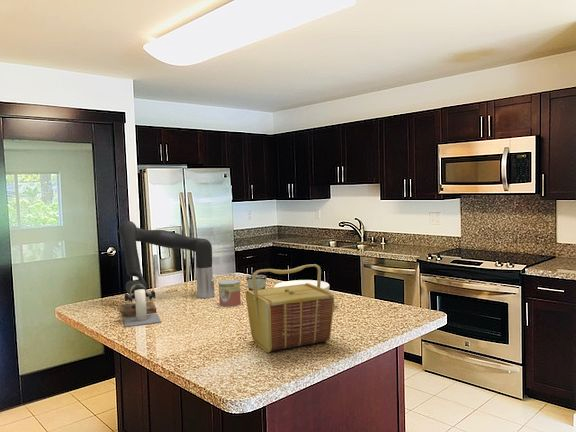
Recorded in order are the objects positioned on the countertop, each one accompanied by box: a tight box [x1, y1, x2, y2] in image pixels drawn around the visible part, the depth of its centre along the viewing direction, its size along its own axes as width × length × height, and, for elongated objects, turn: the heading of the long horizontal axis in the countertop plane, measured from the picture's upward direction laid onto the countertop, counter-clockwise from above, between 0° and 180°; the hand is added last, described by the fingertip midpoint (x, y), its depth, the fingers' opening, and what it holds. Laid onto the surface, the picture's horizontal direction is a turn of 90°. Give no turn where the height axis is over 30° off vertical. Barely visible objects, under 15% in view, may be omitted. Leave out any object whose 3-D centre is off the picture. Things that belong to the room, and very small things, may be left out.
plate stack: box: [273, 279, 331, 292], centre depth 240 cm, size 28×28×12 cm
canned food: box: [218, 279, 242, 308], centre depth 252 cm, size 11×11×12 cm
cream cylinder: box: [134, 289, 148, 321], centre depth 225 cm, size 5×5×14 cm
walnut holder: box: [120, 300, 157, 318], centre depth 244 cm, size 16×16×2 cm
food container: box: [245, 274, 268, 291], centre depth 279 cm, size 12×6×10 cm, turn 84°
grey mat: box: [123, 313, 162, 328], centre depth 225 cm, size 16×16×1 cm
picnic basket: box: [245, 263, 335, 353], centre depth 186 cm, size 29×26×30 cm
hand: (141, 298), depth 223 cm, fingers open, 8 cm apart
